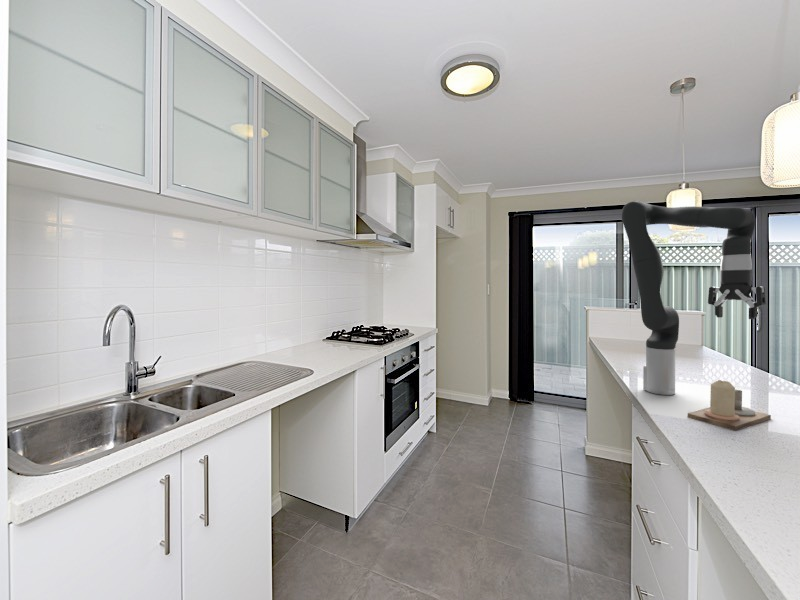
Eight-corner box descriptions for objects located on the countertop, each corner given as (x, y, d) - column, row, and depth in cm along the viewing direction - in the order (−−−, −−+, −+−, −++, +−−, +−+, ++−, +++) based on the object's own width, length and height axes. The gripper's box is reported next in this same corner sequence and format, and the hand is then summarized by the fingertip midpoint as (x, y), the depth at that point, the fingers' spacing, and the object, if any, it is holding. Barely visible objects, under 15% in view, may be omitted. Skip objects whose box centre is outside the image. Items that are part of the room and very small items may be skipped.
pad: (698, 414, 113) (698, 411, 113) (713, 410, 117) (713, 407, 116) (730, 422, 106) (730, 420, 106) (745, 418, 109) (745, 415, 109)
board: (687, 416, 114) (687, 391, 114) (723, 407, 122) (723, 383, 122) (735, 430, 103) (735, 402, 103) (770, 418, 111) (771, 393, 111)
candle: (716, 416, 109) (717, 383, 109) (706, 409, 114) (706, 378, 114) (738, 417, 108) (739, 384, 107) (727, 411, 113) (728, 379, 113)
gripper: (770, 268, 115) (769, 319, 115) (716, 270, 128) (715, 316, 128) (758, 267, 112) (757, 320, 112) (704, 270, 125) (703, 317, 125)
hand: (735, 318), depth 120 cm, fingers open, 8 cm apart
